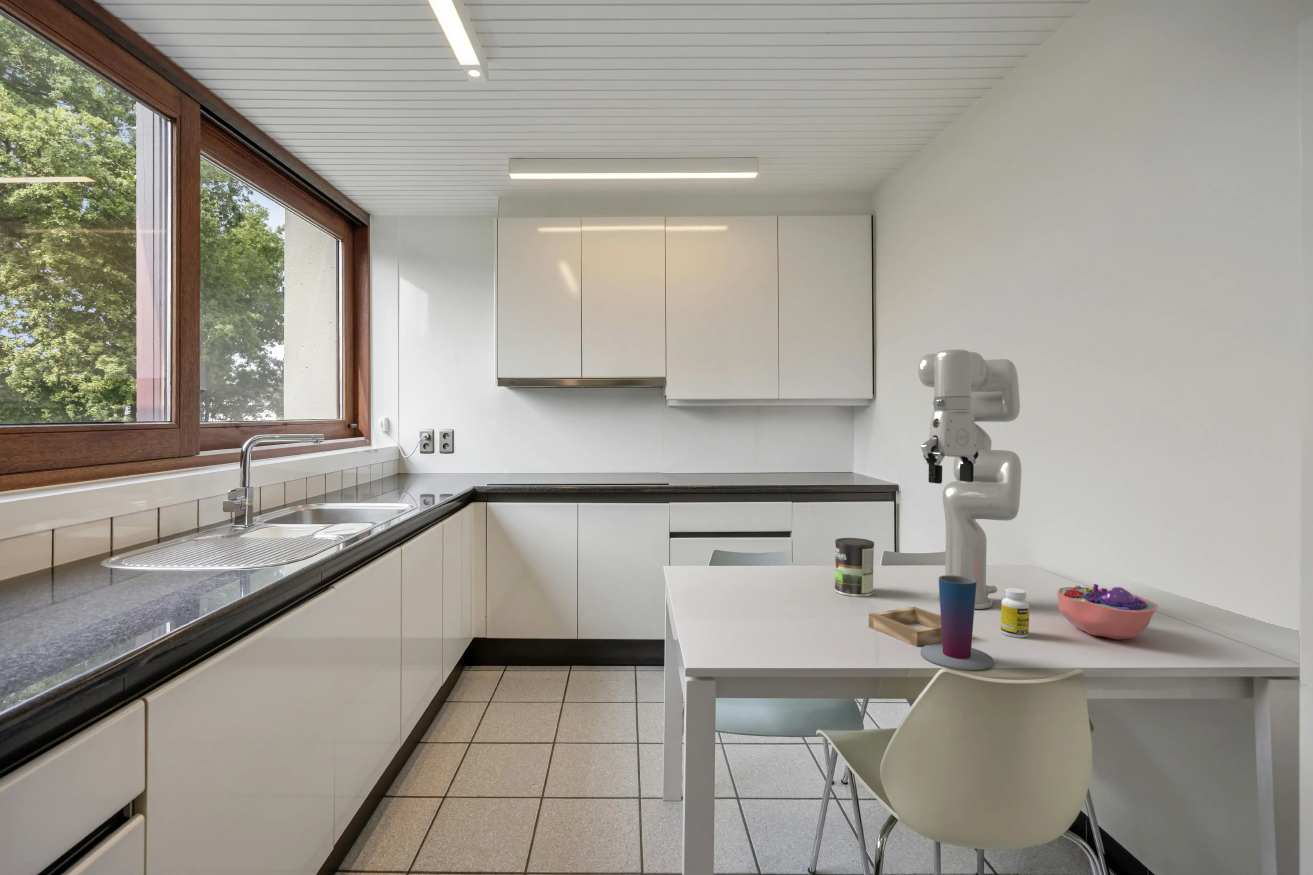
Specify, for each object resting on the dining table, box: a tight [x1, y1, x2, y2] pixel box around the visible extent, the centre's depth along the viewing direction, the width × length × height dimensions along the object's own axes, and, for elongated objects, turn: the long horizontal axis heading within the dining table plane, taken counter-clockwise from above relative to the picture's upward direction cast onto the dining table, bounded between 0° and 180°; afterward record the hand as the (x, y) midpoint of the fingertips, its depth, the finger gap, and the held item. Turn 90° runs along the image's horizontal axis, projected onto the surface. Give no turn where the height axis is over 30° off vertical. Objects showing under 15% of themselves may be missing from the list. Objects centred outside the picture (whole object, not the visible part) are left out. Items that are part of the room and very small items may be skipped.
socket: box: [868, 606, 942, 647], centre depth 143 cm, size 14×14×3 cm
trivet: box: [920, 643, 994, 672], centre depth 127 cm, size 13×13×1 cm
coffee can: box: [834, 537, 875, 598], centre depth 176 cm, size 10×10×14 cm
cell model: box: [1056, 583, 1159, 641], centre depth 142 cm, size 17×20×11 cm
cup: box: [938, 574, 977, 659], centre depth 127 cm, size 7×7×15 cm
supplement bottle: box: [1000, 587, 1030, 639], centre depth 142 cm, size 5×5×10 cm
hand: (951, 482), depth 144 cm, fingers open, 9 cm apart
